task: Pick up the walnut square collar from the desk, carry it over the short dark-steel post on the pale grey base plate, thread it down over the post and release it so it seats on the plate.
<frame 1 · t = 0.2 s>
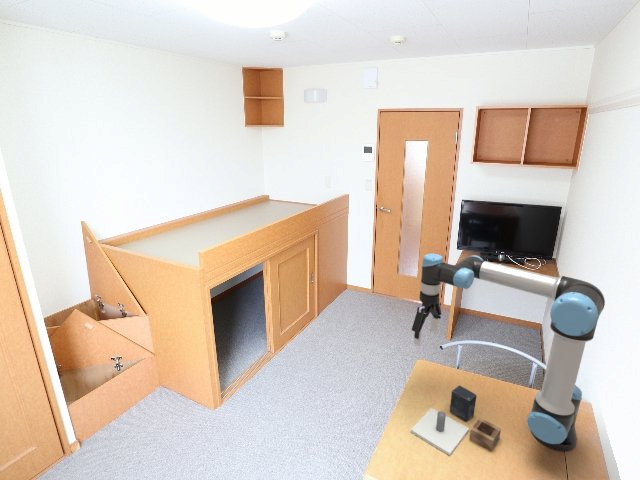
hand: (425, 337, 161), 28 cm above the table, fingers open, 13 cm apart
box: (461, 414, 158), on the table
collar: (484, 439, 145), on the table
post: (439, 431, 149), on the table
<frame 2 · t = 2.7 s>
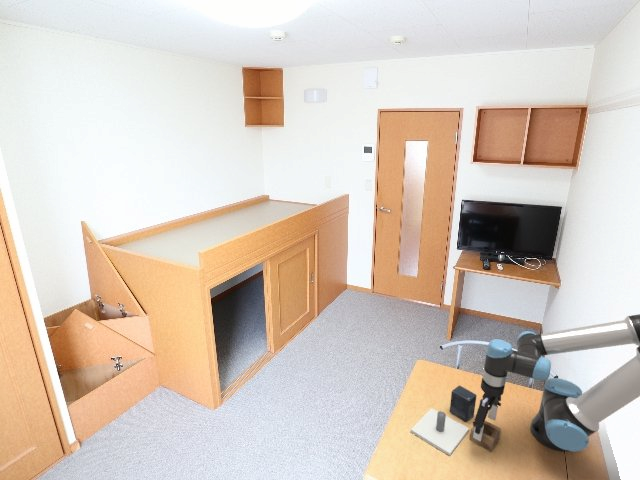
hand: (484, 428, 144), 5 cm above the table, fingers open, 13 cm apart
nothing on the table moved.
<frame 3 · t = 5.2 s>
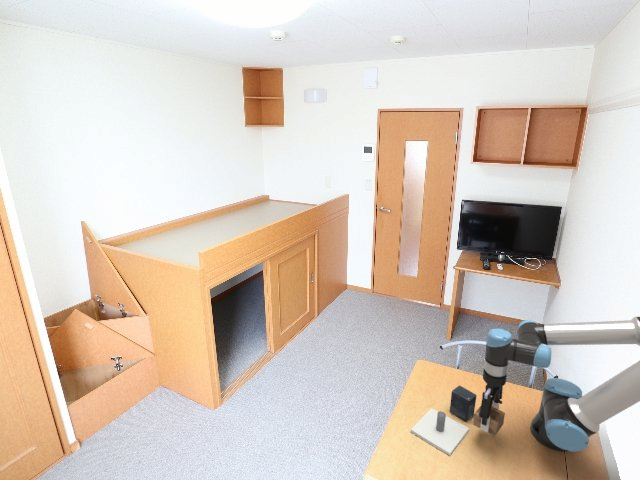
hand: (488, 423, 143), 8 cm above the table, fingers closed on collar, 8 cm apart
collar: (488, 424, 143), point 7 cm above the table, touching gripper
everything else where it was.
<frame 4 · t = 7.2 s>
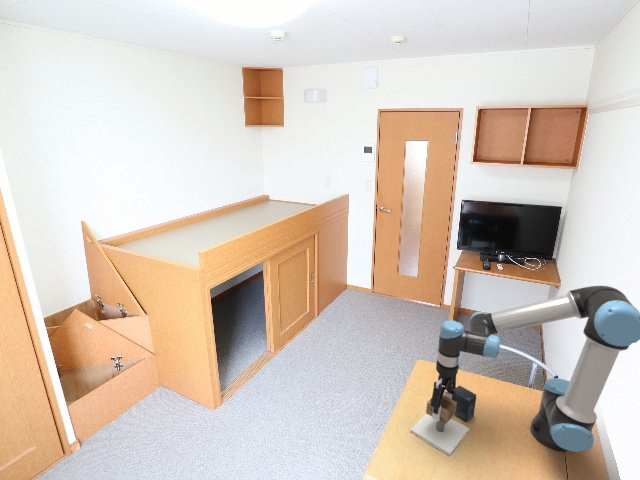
hand: (441, 412, 146), 9 cm above the table, fingers closed on collar, 8 cm apart
collar: (440, 413, 146), point 9 cm above the table, touching gripper
everything else where it was.
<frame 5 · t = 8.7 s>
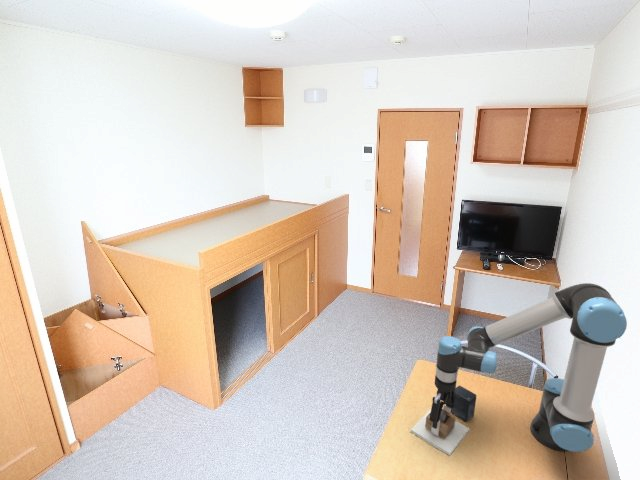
hand: (440, 426, 148), 2 cm above the table, fingers closed on collar, 8 cm apart
collar: (439, 427, 148), point 2 cm above the table, touching gripper
everything else where it was.
when the fingers open (2 cm above the table, at t = 9.6 s): collar stays where it is, resting on post.
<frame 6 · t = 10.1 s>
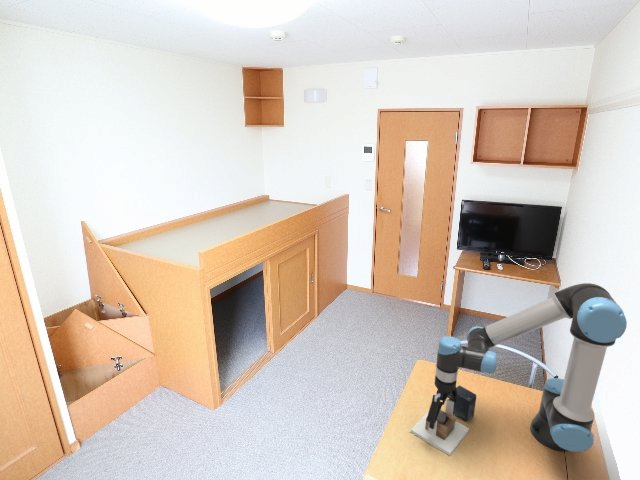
hand: (440, 423, 148), 4 cm above the table, fingers open, 13 cm apart
collar: (439, 428, 149), point 1 cm above the table, touching post
everything else where it was.
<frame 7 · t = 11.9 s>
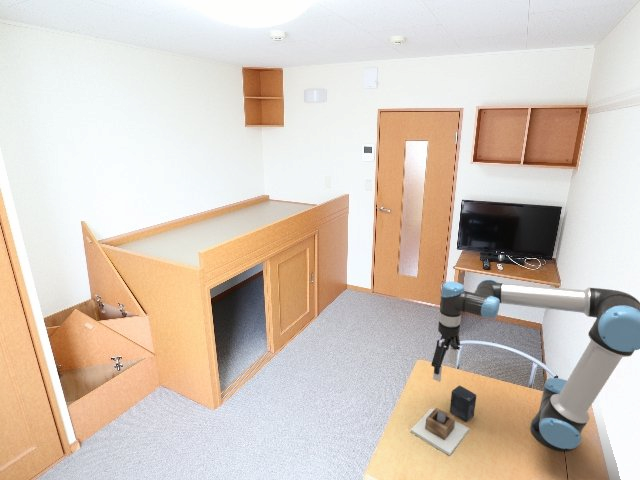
hand: (444, 371, 149), 22 cm above the table, fingers open, 13 cm apart
nothing on the table moved.
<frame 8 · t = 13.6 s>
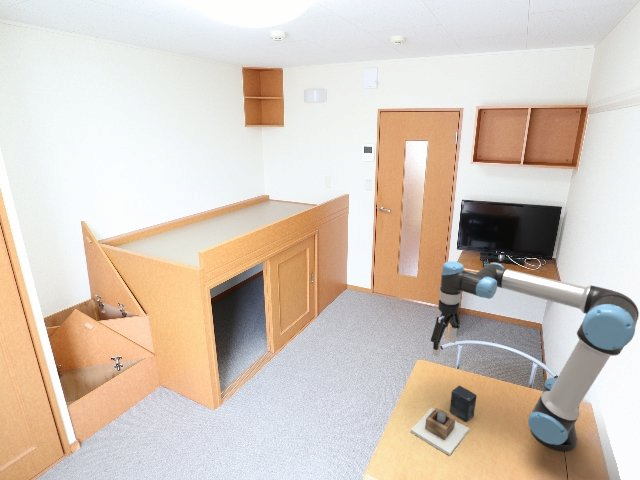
hand: (444, 348, 156), 27 cm above the table, fingers open, 13 cm apart
nothing on the table moved.
at the end: collar 0.2 cm off-centre on the post, point 1.2 cm above the post's base; the gripper is holding nothing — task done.
